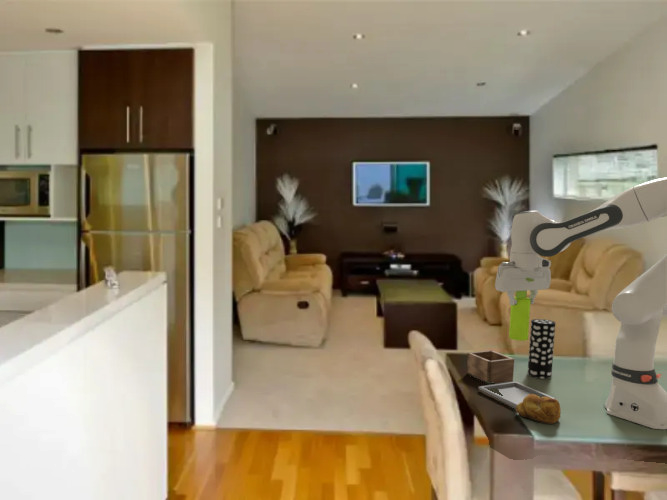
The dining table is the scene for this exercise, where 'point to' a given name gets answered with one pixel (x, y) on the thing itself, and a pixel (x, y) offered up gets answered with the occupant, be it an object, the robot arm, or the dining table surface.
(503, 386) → the grey tray
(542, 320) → the white-spotted black cylinder
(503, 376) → the walnut box
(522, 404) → the bread roll
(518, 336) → the soap dispenser
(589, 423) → the dining table surface
